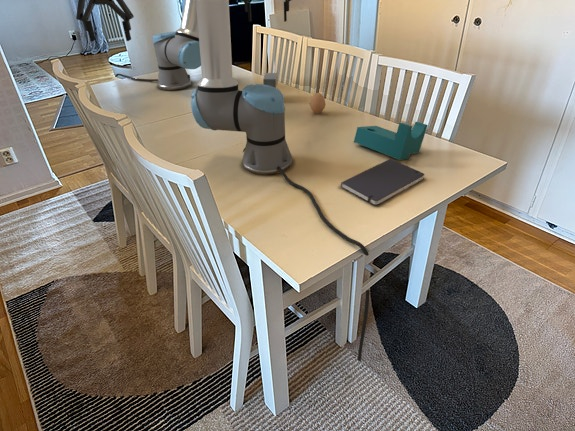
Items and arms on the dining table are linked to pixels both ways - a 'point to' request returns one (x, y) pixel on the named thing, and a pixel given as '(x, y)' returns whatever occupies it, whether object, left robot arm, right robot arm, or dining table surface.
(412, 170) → the notebook
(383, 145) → the teal l-shaped bracket
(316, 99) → the egg
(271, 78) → the brick
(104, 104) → the dining table surface
